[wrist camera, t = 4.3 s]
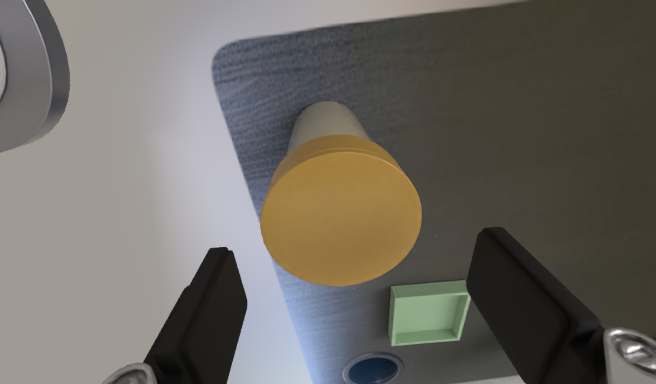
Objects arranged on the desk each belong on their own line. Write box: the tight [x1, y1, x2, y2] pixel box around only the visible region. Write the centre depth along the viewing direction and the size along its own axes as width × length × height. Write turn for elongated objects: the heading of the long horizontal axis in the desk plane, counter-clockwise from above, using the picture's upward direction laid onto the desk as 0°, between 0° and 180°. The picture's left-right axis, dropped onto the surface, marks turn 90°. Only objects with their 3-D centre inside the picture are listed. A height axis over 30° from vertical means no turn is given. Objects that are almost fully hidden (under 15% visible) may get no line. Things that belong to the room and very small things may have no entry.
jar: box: [286, 101, 372, 156], centre depth 19 cm, size 7×7×14 cm
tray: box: [388, 280, 471, 346], centre depth 37 cm, size 10×10×2 cm
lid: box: [260, 135, 422, 286], centre depth 14 cm, size 8×8×3 cm
